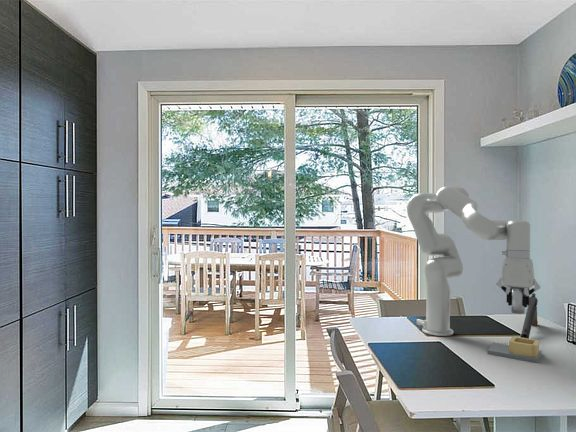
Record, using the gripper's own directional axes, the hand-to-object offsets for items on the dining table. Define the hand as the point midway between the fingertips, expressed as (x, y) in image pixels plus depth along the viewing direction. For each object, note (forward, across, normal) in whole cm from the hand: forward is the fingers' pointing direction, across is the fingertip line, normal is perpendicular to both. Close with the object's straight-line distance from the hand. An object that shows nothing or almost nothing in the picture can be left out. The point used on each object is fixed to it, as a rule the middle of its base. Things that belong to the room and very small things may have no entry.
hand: (517, 305), depth 160 cm
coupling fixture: (+18, -1, +1) cm, 18 cm away
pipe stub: (+3, 0, 0) cm, 3 cm away
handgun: (+18, -2, +38) cm, 42 cm away
